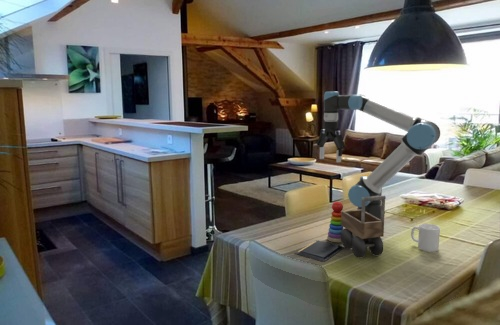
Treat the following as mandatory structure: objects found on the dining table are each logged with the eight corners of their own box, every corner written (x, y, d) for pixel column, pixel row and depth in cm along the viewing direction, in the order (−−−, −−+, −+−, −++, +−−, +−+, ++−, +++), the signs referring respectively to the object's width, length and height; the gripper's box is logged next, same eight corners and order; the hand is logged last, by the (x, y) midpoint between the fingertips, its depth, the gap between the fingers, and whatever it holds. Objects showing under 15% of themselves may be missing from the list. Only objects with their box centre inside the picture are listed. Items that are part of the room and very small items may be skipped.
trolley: (359, 242, 183) (361, 186, 178) (383, 258, 165) (385, 196, 160) (340, 244, 181) (341, 187, 176) (361, 261, 162) (363, 198, 158)
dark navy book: (323, 259, 162) (292, 250, 171) (323, 264, 162) (292, 254, 172) (346, 245, 177) (316, 237, 186) (346, 249, 177) (316, 241, 187)
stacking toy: (332, 244, 182) (332, 204, 179) (324, 238, 189) (325, 200, 186) (347, 242, 184) (348, 203, 181) (339, 236, 191) (340, 198, 188)
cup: (434, 253, 169) (435, 231, 167) (406, 246, 177) (407, 224, 176) (441, 248, 175) (442, 226, 173) (414, 241, 183) (415, 220, 181)
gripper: (310, 120, 218) (310, 158, 222) (341, 122, 197) (340, 164, 200) (321, 119, 222) (320, 156, 225) (353, 121, 200) (351, 162, 204)
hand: (330, 160), depth 213 cm, fingers open, 13 cm apart
